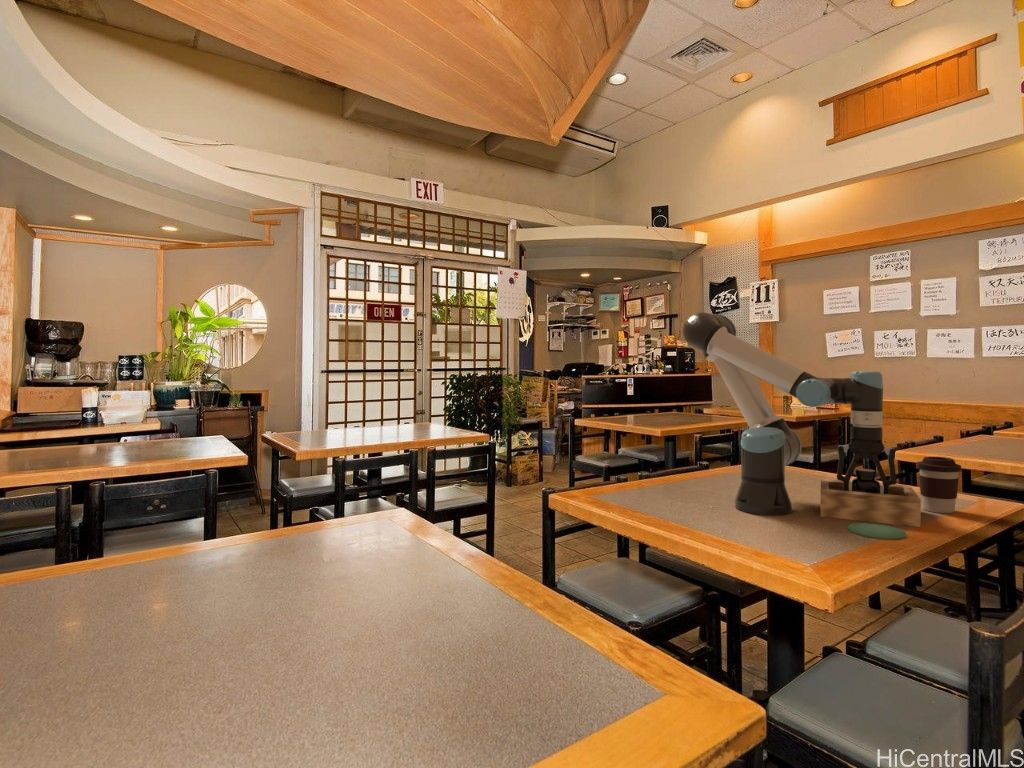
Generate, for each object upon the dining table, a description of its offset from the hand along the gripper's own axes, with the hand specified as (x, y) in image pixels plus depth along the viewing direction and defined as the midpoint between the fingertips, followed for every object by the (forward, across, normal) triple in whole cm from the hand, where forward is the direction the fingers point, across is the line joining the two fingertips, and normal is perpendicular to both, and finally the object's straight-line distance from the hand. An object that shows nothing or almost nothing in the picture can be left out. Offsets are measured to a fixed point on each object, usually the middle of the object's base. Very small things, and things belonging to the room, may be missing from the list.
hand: (865, 506), depth 155 cm
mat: (+2, +1, -20) cm, 20 cm away
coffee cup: (+2, +18, +12) cm, 22 cm away
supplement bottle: (+2, 0, 0) cm, 2 cm away
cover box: (+2, 0, 0) cm, 2 cm away
